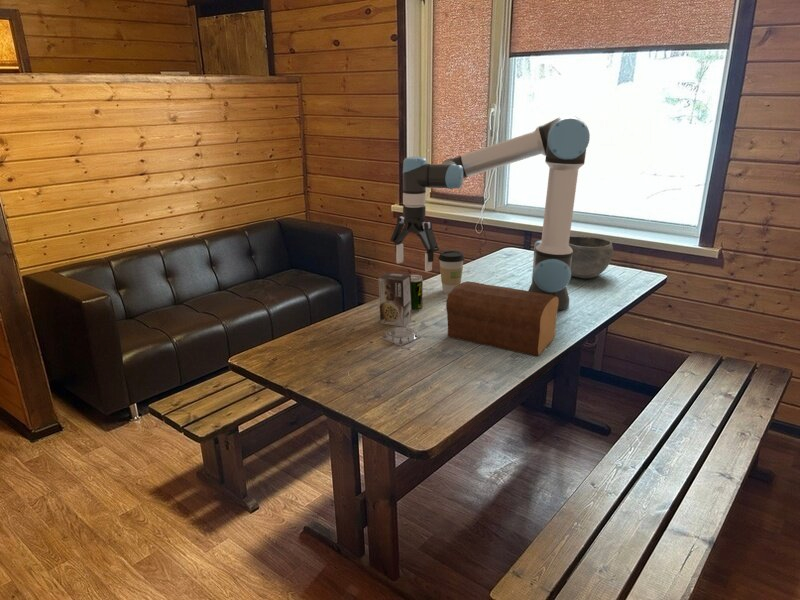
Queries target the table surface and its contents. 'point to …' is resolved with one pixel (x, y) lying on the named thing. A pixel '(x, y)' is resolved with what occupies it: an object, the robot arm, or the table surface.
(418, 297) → the beer can
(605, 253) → the bowl
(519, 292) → the bread
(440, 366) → the table surface
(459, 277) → the coffee cup
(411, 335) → the duct flange
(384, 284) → the coffee box
